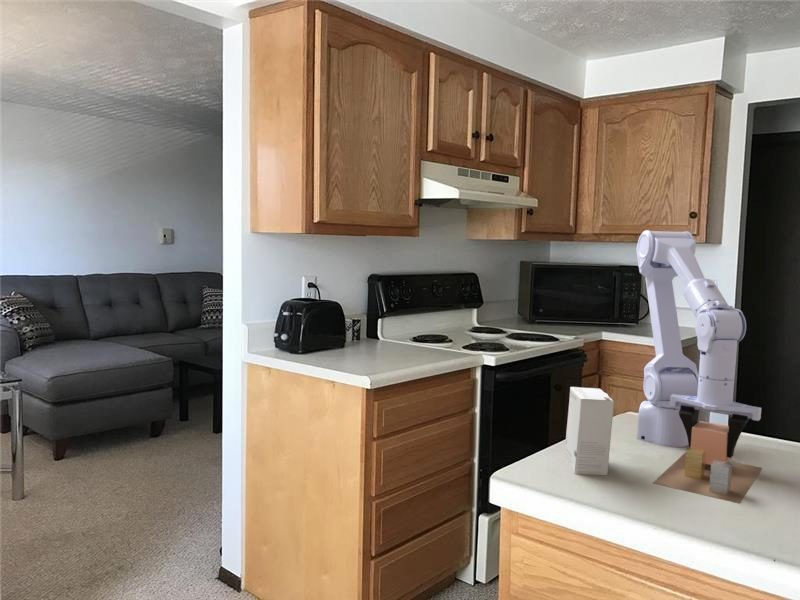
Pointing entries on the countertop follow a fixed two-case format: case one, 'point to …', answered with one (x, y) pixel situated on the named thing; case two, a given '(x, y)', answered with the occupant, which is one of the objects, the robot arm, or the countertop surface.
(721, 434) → the salmon pink cube
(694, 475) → the butter yellow cube
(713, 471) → the white sugar cube
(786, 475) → the countertop surface
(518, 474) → the countertop surface
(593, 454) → the skincare box
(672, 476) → the board
